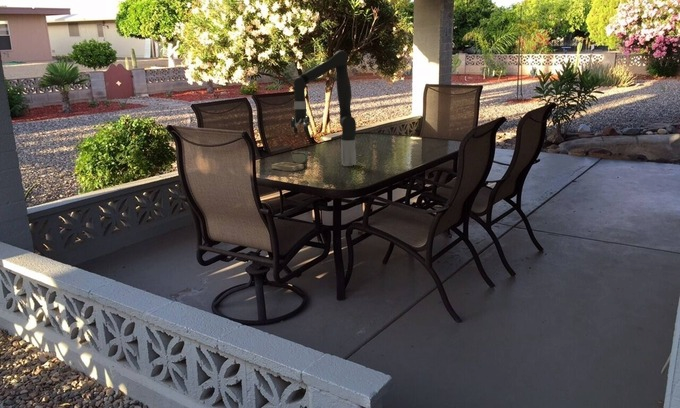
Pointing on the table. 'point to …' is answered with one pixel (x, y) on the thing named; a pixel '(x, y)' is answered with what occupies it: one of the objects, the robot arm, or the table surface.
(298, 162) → the food container
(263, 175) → the table surface
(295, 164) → the tray
